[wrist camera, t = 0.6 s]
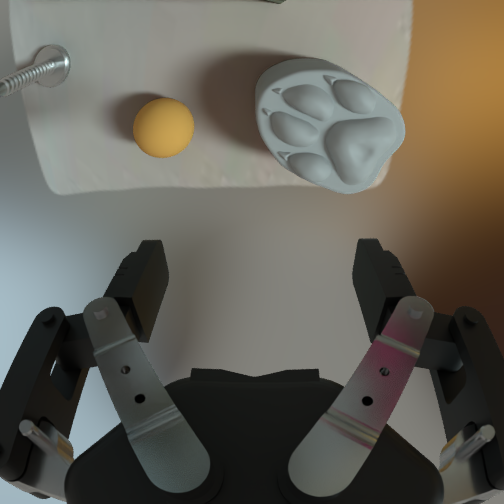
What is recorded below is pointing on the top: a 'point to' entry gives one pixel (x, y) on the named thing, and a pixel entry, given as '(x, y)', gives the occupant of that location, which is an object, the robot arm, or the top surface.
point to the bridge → (277, 1)
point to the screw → (39, 71)
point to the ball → (163, 127)
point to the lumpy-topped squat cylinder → (326, 123)
